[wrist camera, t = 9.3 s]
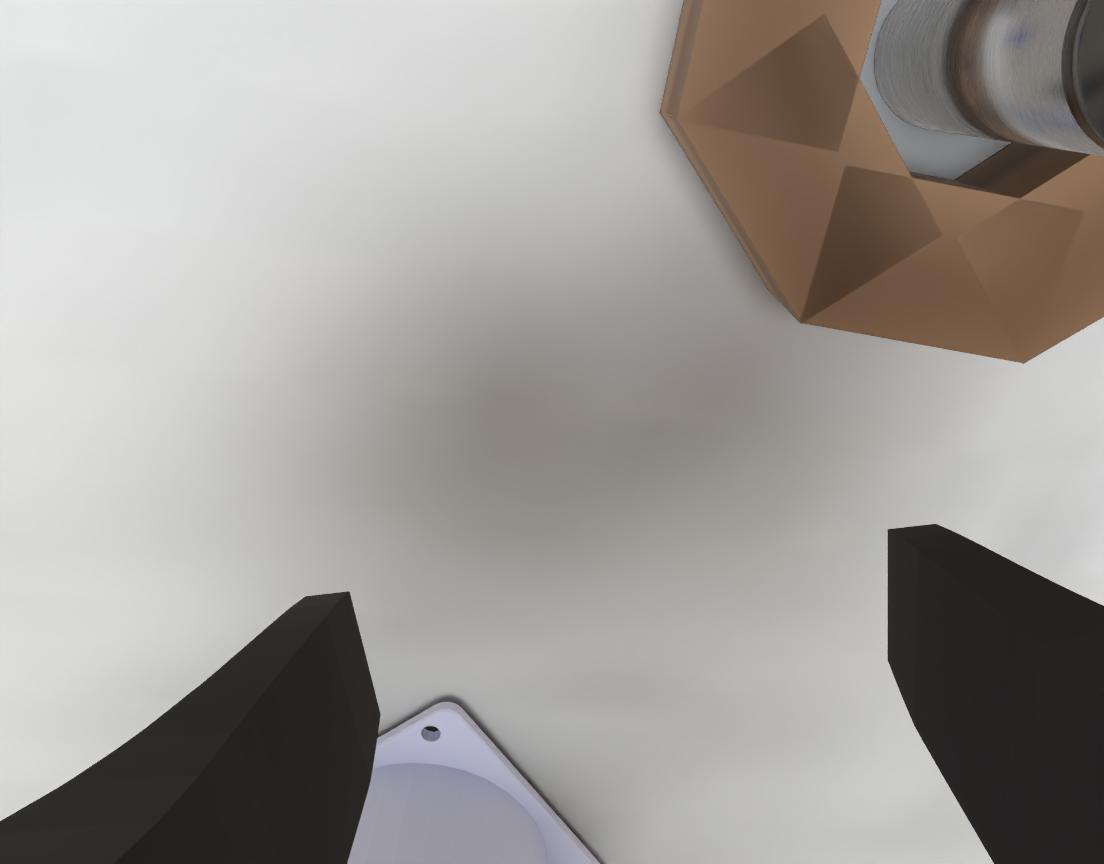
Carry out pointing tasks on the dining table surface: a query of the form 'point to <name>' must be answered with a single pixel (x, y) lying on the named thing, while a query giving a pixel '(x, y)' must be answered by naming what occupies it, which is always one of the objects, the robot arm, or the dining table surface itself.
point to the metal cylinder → (998, 69)
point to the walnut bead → (876, 191)
